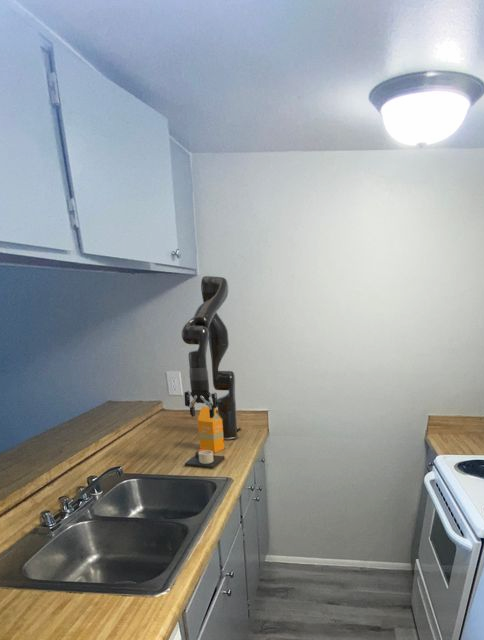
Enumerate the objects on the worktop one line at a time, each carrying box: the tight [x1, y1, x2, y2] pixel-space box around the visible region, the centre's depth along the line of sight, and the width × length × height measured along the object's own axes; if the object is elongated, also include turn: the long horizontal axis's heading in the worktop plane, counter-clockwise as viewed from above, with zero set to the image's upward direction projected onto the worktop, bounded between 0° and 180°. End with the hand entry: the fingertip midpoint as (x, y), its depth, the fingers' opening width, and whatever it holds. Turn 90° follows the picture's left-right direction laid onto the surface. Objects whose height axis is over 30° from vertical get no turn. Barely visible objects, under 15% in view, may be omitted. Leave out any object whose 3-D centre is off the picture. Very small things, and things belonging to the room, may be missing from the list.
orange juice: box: [197, 406, 225, 454], centre depth 224 cm, size 8×9×20 cm
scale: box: [184, 450, 226, 470], centre depth 211 cm, size 14×13×3 cm
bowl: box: [198, 450, 214, 464], centre depth 206 cm, size 6×6×4 cm
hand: (202, 417), depth 203 cm, fingers open, 8 cm apart
